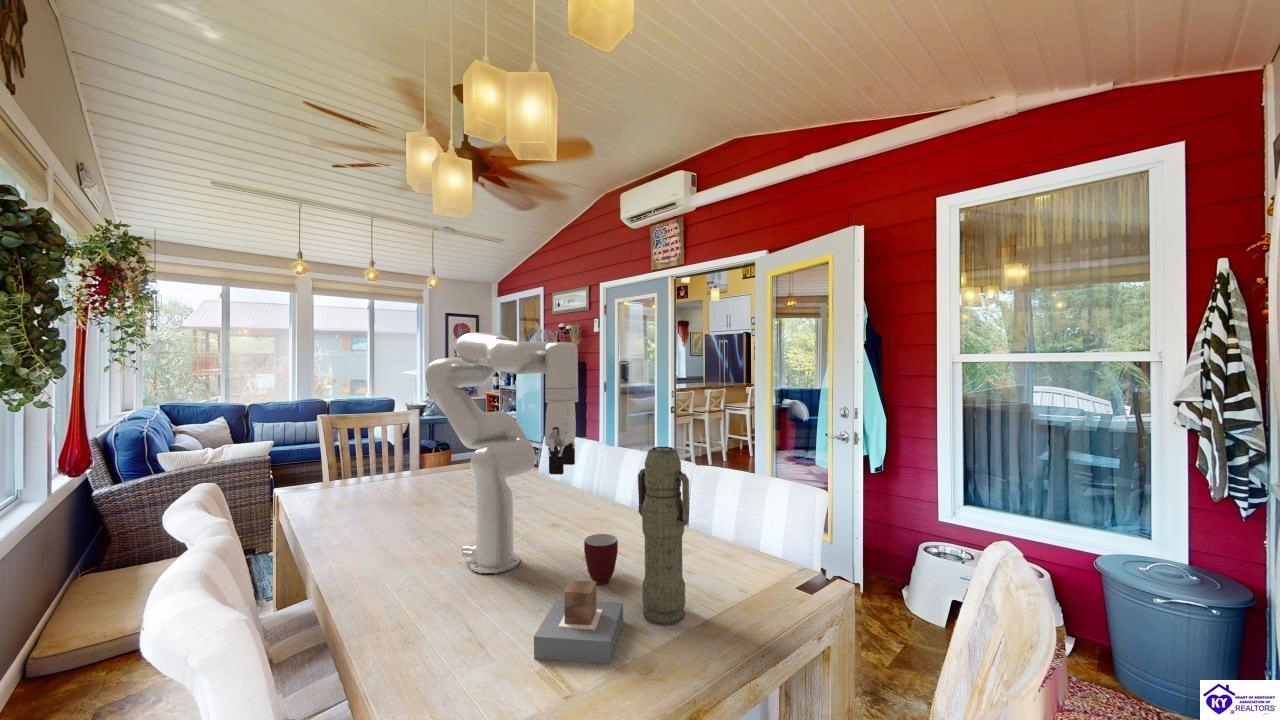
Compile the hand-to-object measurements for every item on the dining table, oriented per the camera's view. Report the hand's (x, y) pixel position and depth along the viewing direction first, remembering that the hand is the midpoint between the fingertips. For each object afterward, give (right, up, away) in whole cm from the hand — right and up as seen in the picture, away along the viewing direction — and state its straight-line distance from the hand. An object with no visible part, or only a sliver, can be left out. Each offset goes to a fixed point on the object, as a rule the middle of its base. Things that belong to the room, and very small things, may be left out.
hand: (562, 469), depth 116 cm
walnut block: (+7, -24, -20) cm, 32 cm away
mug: (+9, -28, +6) cm, 30 cm away
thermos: (+23, -29, -11) cm, 38 cm away
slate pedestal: (+7, -29, -20) cm, 35 cm away
